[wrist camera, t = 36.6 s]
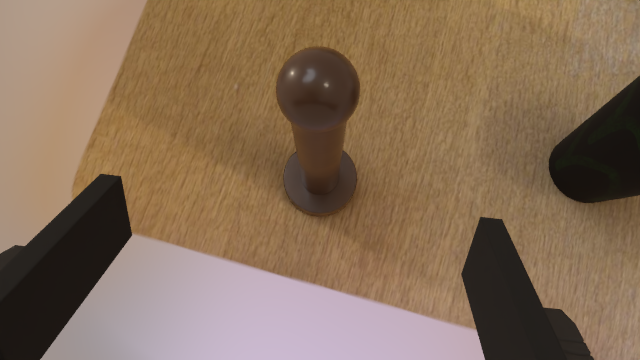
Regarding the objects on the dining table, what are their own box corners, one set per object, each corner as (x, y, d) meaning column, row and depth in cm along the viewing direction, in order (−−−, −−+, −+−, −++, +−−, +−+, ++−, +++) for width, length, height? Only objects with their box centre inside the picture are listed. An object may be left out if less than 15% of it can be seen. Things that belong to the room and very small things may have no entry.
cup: (580, 106, 36) (704, 19, 24) (652, 174, 34) (820, 117, 23) (515, 163, 35) (613, 100, 23) (587, 236, 33) (729, 208, 22)
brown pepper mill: (276, 205, 34) (225, 114, 16) (297, 140, 35) (271, -8, 18) (344, 225, 34) (368, 155, 16) (363, 159, 35) (405, 26, 17)
